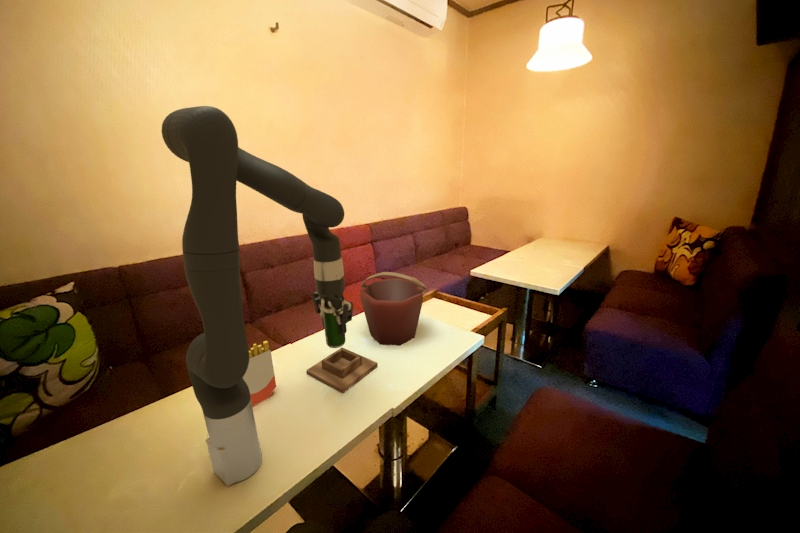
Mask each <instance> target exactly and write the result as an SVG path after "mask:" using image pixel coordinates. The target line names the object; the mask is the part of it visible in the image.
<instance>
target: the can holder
mask: <svg viewBox="0 0 800 533" xmlns="http://www.w3.org/2000/svg"><path fill="white" fill-rule="evenodd" d="M376 368H378V362H376V361H374V360H372V359H370V358H368V357H366V356H363V355H361V354H358V353H356V352H353V351H351V350H349V349H347V348H345V347H339V349H337V350H336V351H334V352H332V353H331V354H329V355H328V356H326V357H324V358H323V359H322V360H319V361H318V362H317V363H315V364H314V365H312V366H310V367H309V368H307V369H306V370H305V371H306V372H305V373H306V375H307V376H309V377H311V378H313V379H315V380H317V381H318V382H319V383H320V382H321V383H322V384H324V385H326V386H327V387H330V388H332V389H333V390H335V391H337V392H339V393H341V394H344V393H346V392H347V391H348V390H350V389H351V388H352V387H354V386H355V385H356V384H357V383H359V382H360V381H361V380H362V379H363V378H365V377H366V376H368V375H369V374H370V373H371V372H373V371H375V370H376ZM349 388H350V389H349ZM345 391H346V392H345Z"/></svg>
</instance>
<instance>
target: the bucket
mask: <svg viewBox="0 0 800 533" xmlns="http://www.w3.org/2000/svg"><path fill="white" fill-rule="evenodd" d="M380 277H394V278H387V279H379V280H373V279H375V278H380ZM370 280H371V281H370ZM372 280H373V281H372ZM368 281H370V282H369V283H368V284H366V283H367V282H368ZM360 288H361V289H360V291H359V292H360V293H359V294H360V295H359V296H360V301H361V304H362V308H363V312H364V316H365V321H366V324H367V327H368V331H369V335H370V337H371V338H372V339H373V340H375V341H376V342H377V343H378V344H379V345H383V346H384V345H385V346H397V347H398V346H402V345H404V344H406V343H408V342H410V341H412V340H414V339H415V338H416V334H417V330H418V324H419V319H420V315H421V312H422V311H421V310H422V306H423V303H424V295H425V294H426V292H427V291H428V289H427V286H426V285H425V284H424V283H423V282H421V281H420V280H418V278H416V277H413V276H409V275H406V274H403V273H399V272H395V271H394V272H392V271H383V272H379V273H374V274H373V275H370V276H368V277H367V278H365V279H364V281H363V282H362V283H360Z"/></svg>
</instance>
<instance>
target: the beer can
mask: <svg viewBox="0 0 800 533" xmlns="http://www.w3.org/2000/svg"><path fill="white" fill-rule="evenodd" d="M336 311H337V313H338V312H340V311H342V308H340V309H338V310H336ZM340 318H342V314H341V315H340ZM323 319H324V328H325V329H324V328H323V329H324V334H325V335H324V336H325V343H326V345H327V347H328V348H330V349H338V348H339V349H340V348H343V346H344V345H345V343H346V333H345V334H344V335H342V336H340V335H339V334H338V322H337V319H336V317H334V315H333V312H332V309H331V308H330V307H327V306H325V307H324V306H323Z"/></svg>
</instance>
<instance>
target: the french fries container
mask: <svg viewBox="0 0 800 533" xmlns="http://www.w3.org/2000/svg"><path fill="white" fill-rule="evenodd" d="M262 345H263V346H262ZM272 356H273V355H272V351H271V348H270V346H269V341H268V340H265V341H262V344H258V345H257V343H253V345H252V347H250V350H249V364H248V368H247V371H246V373H245V375H244V376H243V379H244V381H245V382H246V384H247V385H248V387H249V391H250V397H251V402H252V407H254V406H255V405H256V406H257V405H258V404H259V403H261V402H264V401H265V400H267V399H269V398H270V396H271V395H272V394H273V392H274V391H275V389H276V387H277V384H276V376H275V370H274V363H273V357H272Z"/></svg>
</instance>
